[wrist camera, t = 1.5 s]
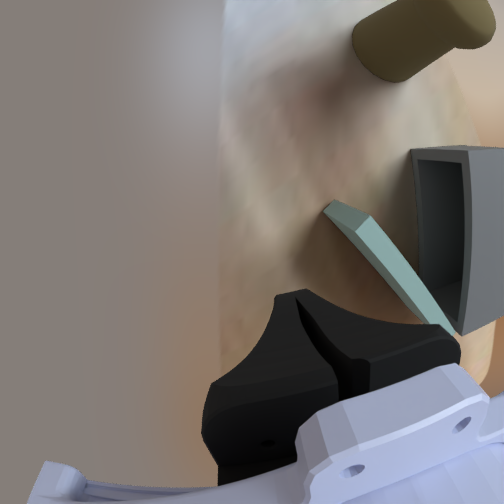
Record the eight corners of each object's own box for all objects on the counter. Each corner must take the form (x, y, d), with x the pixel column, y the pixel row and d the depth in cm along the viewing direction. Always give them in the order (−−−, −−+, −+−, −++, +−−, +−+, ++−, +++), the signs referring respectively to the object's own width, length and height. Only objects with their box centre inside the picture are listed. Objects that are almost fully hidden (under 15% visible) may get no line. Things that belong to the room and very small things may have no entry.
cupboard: (463, 281, 24) (509, 312, 17) (417, 297, 24) (461, 336, 17) (461, 145, 20) (518, 148, 13) (410, 149, 20) (468, 150, 14)
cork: (348, 67, 18) (430, 11, 8) (354, 7, 17) (421, -63, 6) (415, 92, 19) (514, 69, 8) (418, 34, 17) (502, -8, 7)
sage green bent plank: (416, 297, 24) (455, 332, 18) (407, 307, 24) (444, 344, 18) (334, 199, 21) (370, 215, 15) (322, 211, 21) (354, 231, 15)
